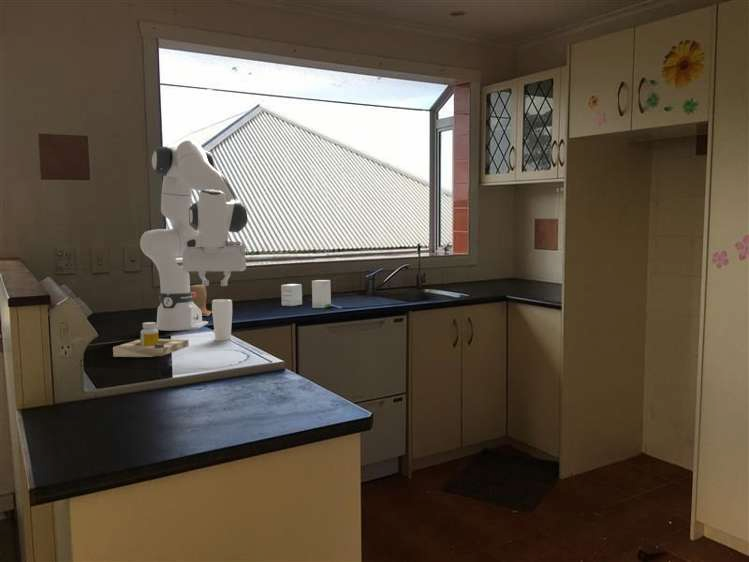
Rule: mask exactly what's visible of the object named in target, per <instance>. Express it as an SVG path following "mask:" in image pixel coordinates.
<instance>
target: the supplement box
mask: <svg viewBox="0 0 749 562" xmlns="http://www.w3.org/2000/svg"><path fill="white" fill-rule="evenodd" d="M280 287H281V288H280V289H281V290H280V291H281V293H280V294H281V295H280V296H281V306H283V307H285V306H286V307H295V306H299V305H300V306H301V305H303V288H302V287H303V285H302V284H301V283H299V284H298V283H287V284H281V285H280Z"/></svg>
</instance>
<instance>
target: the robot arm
mask: <svg viewBox="0 0 749 562" xmlns="http://www.w3.org/2000/svg"><path fill="white" fill-rule="evenodd" d="M151 166H152V168H153V172H154V173H156V175H159V176H163V179H162V185H161V196H160V197H161V198H160V199H161V201H160V212H161V214H162V215H163V217H165V218H166V219H168V220H169V221H171V222H172V223H173V224H172V225H173V228H157V229H151V230H146V231H145V232H144V233H143V234H142V235H141V238H140V240H139V246H140V249H141V251H142V253H143V254H144V255H145V256H146V257H148V258H149V259H150V260H151V262H153V263H154V265H155V267H156V269H157V271H158V276H159V277H158V278H159V283H160V285H159V286H160V292H159V297H158V299H159V303H160V304H159V306H158V307H157V314H156V327H155V329H157V330H158V331H164V332H165V331H168V332H169V331H171V332H172V331H175V332H176V331H187V330H188V331H189V330H196V329H197V330H198V329H201V328H202V327H203V326H206V325H207V324H208V325H209V321H206V320H203V317H202V312H201V310H200V309H199V308H198V307H197V306H196V305H195V304H194V303H193V298H192V297H195V296H196V294H195V292H190V286H191V281H190V280H191V279H190V276H191V275H190V273H189V272H198V276H199V278H200V280H201V285H203V286H205V287H209V285H210V280H209V279H207V278H206V274H207V273H206V272H223V276H224V278H223V279H222V280H220V286H221V287H226V286H227V287H228V284H229V283H228V281H229V278H230V277H231V275H232V273H231V272H243V271H246V269H247V263H246V262H247V261H246V255H245V253H246V246H245V244H244V243H242V242H241V241H229V233H239V232H241V231H242V230H243V229H245V227H246V226H247V224H248V212H247V210H246V207H245V206H244V204H243V203H242V202H241V201H240V200H239V199H238V196H237V195H236V194H235V192H234V190H233V188H232V186H231V184H230V183H229V182H228V180H227V179H226V177H225V175H224V174H222V173H221V172H219V171H218V170H216V169H215V160H214V157H213V154H212V153H211V152H209V151H207V150H205V149H203V147H202V146H201V145H200V143H198V142H197V141H194V140H184V141H182V142H181V143H179V144H178V145H177V147H176V146H175V147H174V146H173V147H172V146H171V147H169V146H160V147H159V146H158V147H157V148H156V149H155V150H154V151H153V154H152V157H151ZM193 190H194V191H199V194H198V201H196V202H194V203H192V196H193V195H192V194H193ZM177 258H182V262H181V263H182V265H181V266H180V265H179V264H178V262H177Z"/></svg>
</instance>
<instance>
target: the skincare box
mask: <svg viewBox="0 0 749 562" xmlns="http://www.w3.org/2000/svg"><path fill="white" fill-rule="evenodd" d="M331 289H332V287H331V280H330V279H316V280H311V293H312V295H311V297H312V298H311V299H312V301H311V302H312V303H311V304H312V306H311V307H312V309H325V308H328V307H331V306H332V299H331V297H332V294H331Z"/></svg>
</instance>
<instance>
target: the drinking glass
mask: <svg viewBox="0 0 749 562" xmlns="http://www.w3.org/2000/svg"><path fill="white" fill-rule="evenodd" d="M211 311H212V314H211V315H212V321H213V331H214V340H215V341H219V342H220V341H221V342H222V341H229V340H231V339H232V320H233V300H232V299H229V298H227V299H223V298H221V299H213V300H211Z"/></svg>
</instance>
